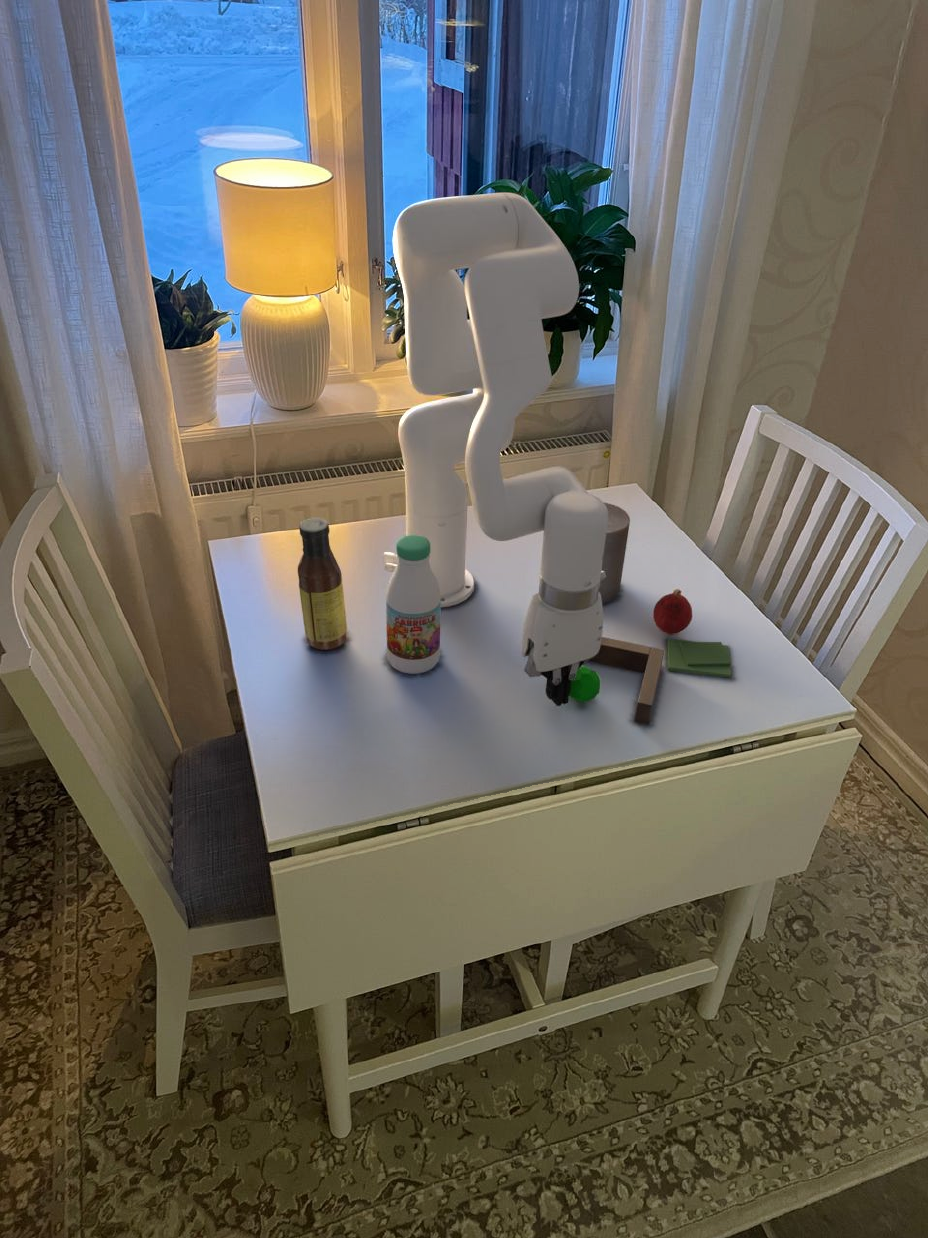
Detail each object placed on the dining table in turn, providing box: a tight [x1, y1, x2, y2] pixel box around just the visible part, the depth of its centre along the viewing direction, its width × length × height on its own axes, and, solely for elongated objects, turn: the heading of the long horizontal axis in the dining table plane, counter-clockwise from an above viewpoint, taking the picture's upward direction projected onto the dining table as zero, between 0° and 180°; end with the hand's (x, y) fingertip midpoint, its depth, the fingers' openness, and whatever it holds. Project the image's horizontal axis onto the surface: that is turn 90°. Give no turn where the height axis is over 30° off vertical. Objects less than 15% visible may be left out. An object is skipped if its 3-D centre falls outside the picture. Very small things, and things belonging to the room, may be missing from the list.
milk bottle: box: [385, 534, 442, 675], centre depth 131 cm, size 8×8×20 cm
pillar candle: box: [599, 501, 631, 605], centre depth 149 cm, size 10×10×15 cm
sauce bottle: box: [297, 517, 348, 651], centre depth 134 cm, size 7×6×20 cm
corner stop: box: [587, 636, 666, 725], centre depth 133 cm, size 18×13×4 cm
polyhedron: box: [569, 665, 601, 703], centre depth 129 cm, size 5×5×5 cm
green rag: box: [666, 638, 732, 679], centre depth 138 cm, size 9×7×1 cm
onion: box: [652, 588, 693, 635], centre depth 141 cm, size 6×6×8 cm
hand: (557, 699), depth 128 cm, fingers closed
